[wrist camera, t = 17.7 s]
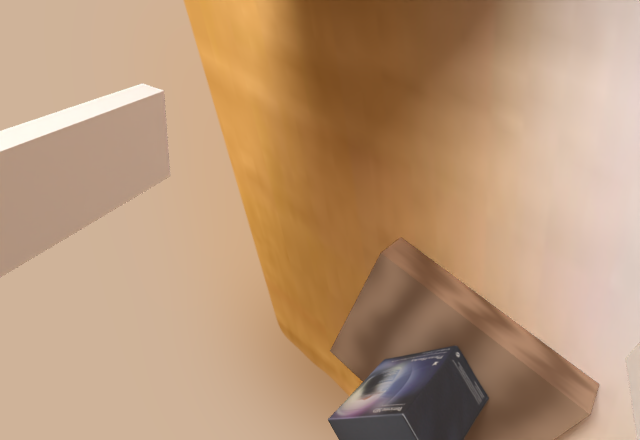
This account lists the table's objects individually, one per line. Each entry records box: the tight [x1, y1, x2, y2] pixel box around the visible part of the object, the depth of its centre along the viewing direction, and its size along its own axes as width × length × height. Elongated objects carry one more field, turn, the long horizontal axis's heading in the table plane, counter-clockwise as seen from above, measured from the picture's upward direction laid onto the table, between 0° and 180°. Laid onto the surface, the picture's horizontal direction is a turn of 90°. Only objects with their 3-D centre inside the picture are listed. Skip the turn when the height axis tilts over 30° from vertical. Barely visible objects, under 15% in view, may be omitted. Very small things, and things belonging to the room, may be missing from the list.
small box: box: [328, 346, 489, 440], centre depth 42 cm, size 11×6×10 cm, turn 129°
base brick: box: [330, 238, 599, 440], centre depth 47 cm, size 22×18×4 cm
